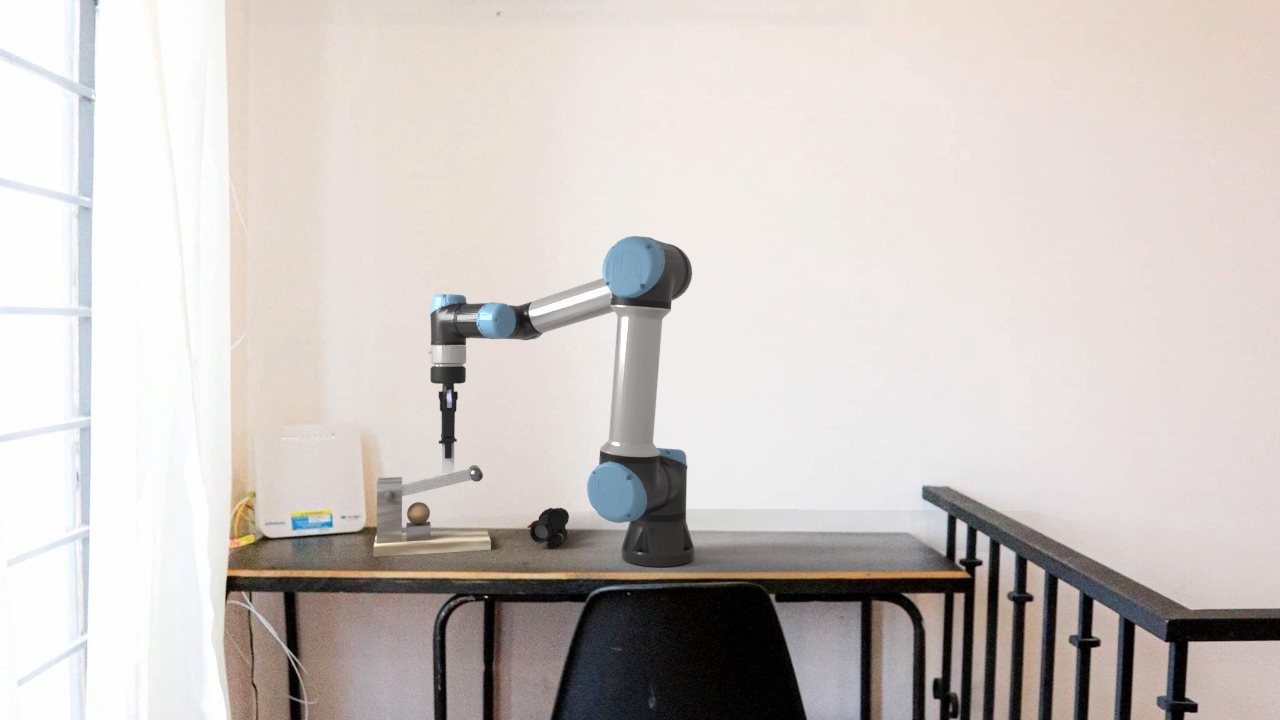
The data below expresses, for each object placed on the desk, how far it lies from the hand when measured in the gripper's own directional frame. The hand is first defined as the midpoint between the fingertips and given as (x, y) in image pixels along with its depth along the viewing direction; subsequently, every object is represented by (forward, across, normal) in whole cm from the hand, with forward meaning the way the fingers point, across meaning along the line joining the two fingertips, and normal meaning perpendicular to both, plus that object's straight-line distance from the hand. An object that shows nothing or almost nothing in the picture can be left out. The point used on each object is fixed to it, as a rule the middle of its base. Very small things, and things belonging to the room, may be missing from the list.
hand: (447, 472), depth 176 cm
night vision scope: (+16, +2, +23) cm, 28 cm away
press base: (+16, 0, -3) cm, 16 cm away
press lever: (+3, 0, -3) cm, 4 cm away
